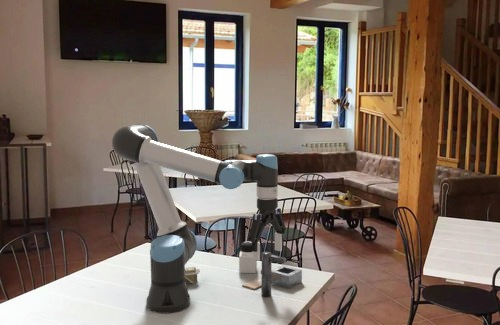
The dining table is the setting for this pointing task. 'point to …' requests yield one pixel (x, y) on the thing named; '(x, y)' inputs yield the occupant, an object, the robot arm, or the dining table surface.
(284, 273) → the block
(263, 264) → the chuck key
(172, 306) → the robot arm
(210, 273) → the dining table surface
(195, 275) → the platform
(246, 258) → the medicine bottle
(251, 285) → the copper plate
